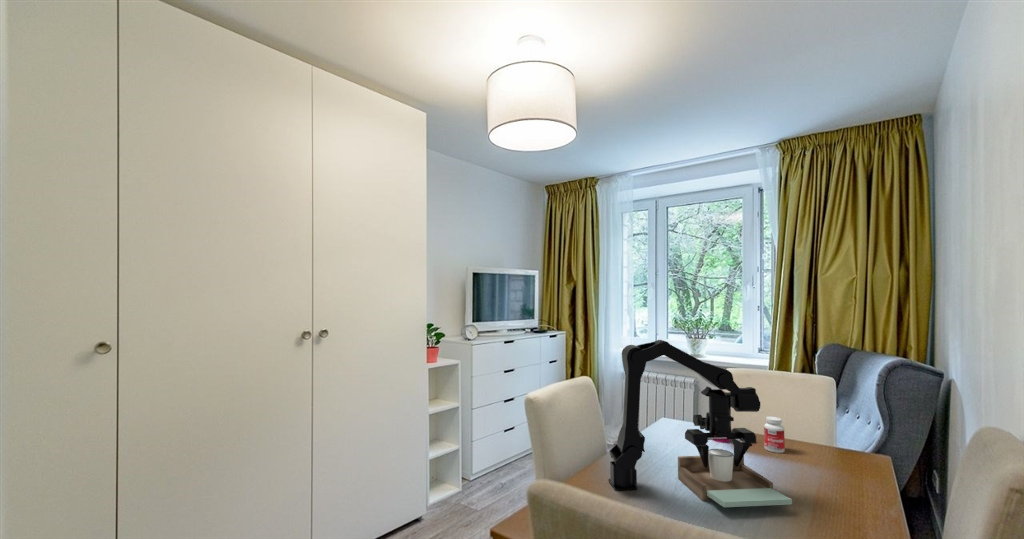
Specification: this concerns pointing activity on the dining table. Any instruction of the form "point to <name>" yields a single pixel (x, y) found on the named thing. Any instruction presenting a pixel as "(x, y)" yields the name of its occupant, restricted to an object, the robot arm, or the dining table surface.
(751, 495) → the tailgate
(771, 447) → the pill bottle
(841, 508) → the dining table surface
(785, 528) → the dining table surface
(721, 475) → the shot glass
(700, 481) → the tray
